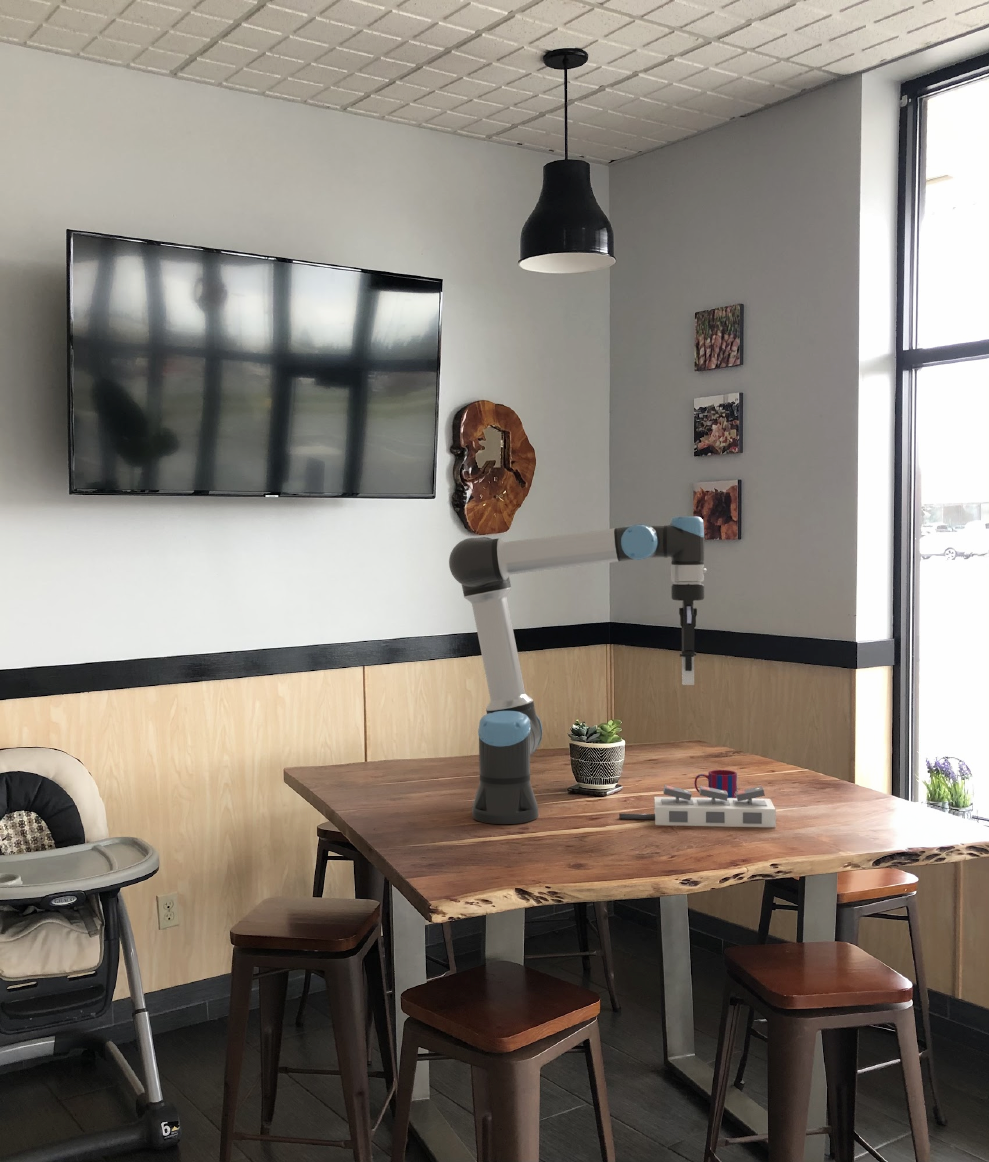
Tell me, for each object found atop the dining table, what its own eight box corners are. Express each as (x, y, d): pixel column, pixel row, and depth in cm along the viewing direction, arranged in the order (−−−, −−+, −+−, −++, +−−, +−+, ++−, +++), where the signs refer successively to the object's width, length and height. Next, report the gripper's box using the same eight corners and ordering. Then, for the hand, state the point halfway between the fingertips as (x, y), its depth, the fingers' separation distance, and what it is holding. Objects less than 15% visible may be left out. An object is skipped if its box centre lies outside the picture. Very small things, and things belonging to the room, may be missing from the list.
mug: (736, 804, 267) (736, 775, 267) (693, 802, 269) (693, 774, 269) (737, 798, 274) (737, 770, 273) (695, 796, 276) (695, 768, 276)
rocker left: (663, 794, 251) (665, 787, 251) (663, 790, 255) (664, 784, 255) (690, 800, 251) (691, 794, 250) (689, 796, 254) (690, 790, 254)
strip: (619, 824, 249) (618, 800, 249) (619, 813, 259) (619, 790, 259) (775, 827, 245) (775, 803, 245) (769, 816, 255) (769, 793, 255)
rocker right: (738, 801, 249) (736, 795, 249) (736, 797, 253) (734, 791, 253) (764, 795, 249) (763, 789, 249) (762, 792, 252) (761, 785, 252)
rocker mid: (699, 795, 250) (701, 788, 250) (698, 791, 254) (700, 785, 254) (726, 800, 250) (728, 794, 250) (725, 797, 253) (726, 790, 253)
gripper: (706, 584, 253) (706, 688, 254) (702, 581, 266) (702, 680, 267) (672, 584, 254) (672, 688, 255) (670, 582, 267) (670, 680, 268)
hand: (688, 684), depth 261 cm, fingers closed
